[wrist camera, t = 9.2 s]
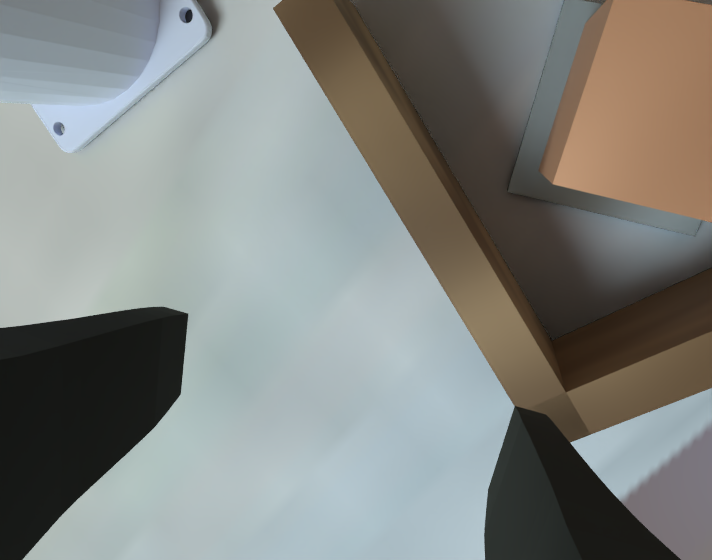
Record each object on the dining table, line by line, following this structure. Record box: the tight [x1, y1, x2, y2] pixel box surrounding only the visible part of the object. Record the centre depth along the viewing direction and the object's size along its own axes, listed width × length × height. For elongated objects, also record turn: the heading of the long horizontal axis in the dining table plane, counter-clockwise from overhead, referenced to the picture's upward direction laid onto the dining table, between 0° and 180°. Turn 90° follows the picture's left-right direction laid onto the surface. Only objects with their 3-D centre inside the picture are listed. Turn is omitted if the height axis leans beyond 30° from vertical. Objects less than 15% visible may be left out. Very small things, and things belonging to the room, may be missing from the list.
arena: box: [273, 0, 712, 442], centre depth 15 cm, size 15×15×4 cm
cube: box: [538, 0, 712, 222], centre depth 15 cm, size 4×4×4 cm
